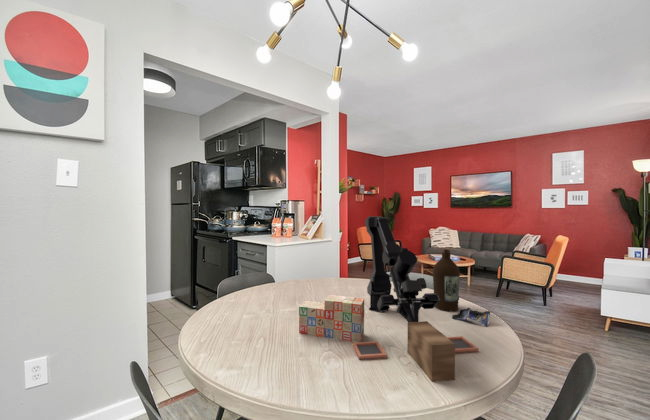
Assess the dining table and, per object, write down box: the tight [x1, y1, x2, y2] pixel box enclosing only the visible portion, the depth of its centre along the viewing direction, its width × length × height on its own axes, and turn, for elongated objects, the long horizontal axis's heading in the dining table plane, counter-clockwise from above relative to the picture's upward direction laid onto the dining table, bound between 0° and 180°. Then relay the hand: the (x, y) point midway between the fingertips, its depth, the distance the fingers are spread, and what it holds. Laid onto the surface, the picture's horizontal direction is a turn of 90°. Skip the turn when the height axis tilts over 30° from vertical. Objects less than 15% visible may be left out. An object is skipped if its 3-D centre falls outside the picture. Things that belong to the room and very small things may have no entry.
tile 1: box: [352, 340, 388, 361], centre depth 82 cm, size 8×8×1 cm
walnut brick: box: [407, 320, 456, 383], centre depth 75 cm, size 14×6×9 cm, turn 8°
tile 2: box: [446, 335, 480, 354], centre depth 86 cm, size 8×8×1 cm
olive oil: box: [432, 248, 461, 312], centre depth 120 cm, size 11×11×25 cm
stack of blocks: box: [298, 294, 365, 343], centre depth 94 cm, size 21×6×12 cm, turn 72°
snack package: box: [451, 307, 491, 327], centre depth 106 cm, size 12×6×12 cm
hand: (416, 329), depth 83 cm, fingers closed
